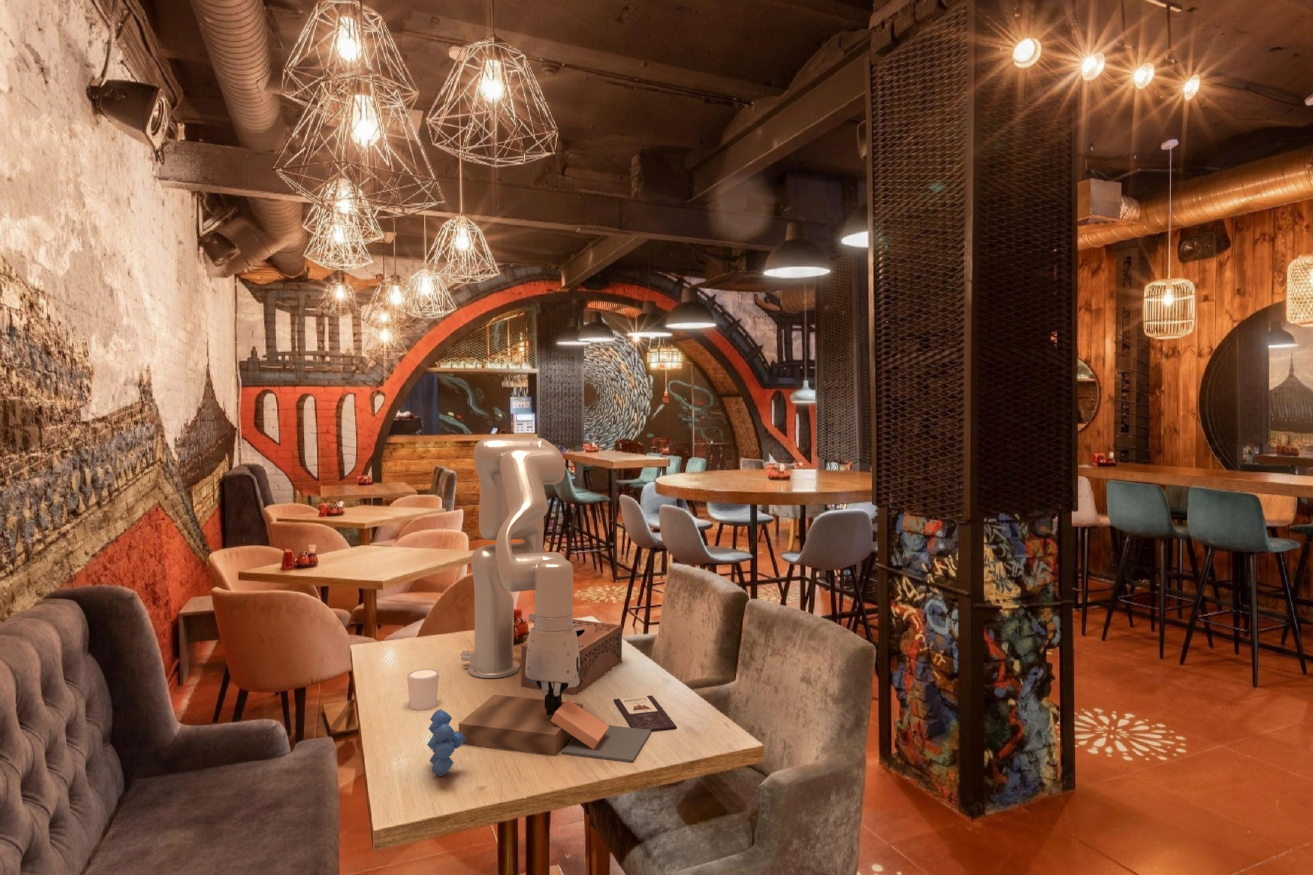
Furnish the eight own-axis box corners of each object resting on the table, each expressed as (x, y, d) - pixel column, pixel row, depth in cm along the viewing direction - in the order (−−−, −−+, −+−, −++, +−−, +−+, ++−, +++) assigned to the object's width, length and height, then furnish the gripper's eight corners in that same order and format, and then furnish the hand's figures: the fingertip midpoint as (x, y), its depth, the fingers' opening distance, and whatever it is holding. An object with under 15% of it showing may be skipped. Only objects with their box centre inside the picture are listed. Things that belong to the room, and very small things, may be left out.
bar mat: (561, 753, 147) (561, 751, 147) (585, 725, 160) (585, 722, 160) (632, 762, 143) (632, 759, 143) (651, 732, 157) (651, 729, 157)
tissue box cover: (572, 656, 206) (572, 619, 206) (621, 663, 201) (622, 625, 200) (520, 687, 182) (521, 645, 182) (575, 696, 177) (575, 653, 177)
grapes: (471, 785, 134) (472, 717, 134) (431, 792, 131) (431, 723, 131) (460, 757, 145) (460, 694, 144) (422, 763, 142) (422, 699, 142)
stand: (458, 743, 151) (458, 723, 150) (494, 712, 166) (494, 694, 166) (555, 755, 146) (555, 734, 146) (582, 722, 161) (582, 703, 161)
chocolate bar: (634, 731, 156) (613, 699, 174) (634, 736, 156) (613, 703, 174) (676, 726, 159) (652, 695, 176) (676, 731, 159) (651, 699, 176)
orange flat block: (550, 720, 150) (555, 712, 149) (563, 707, 156) (567, 699, 156) (593, 749, 147) (598, 741, 147) (604, 735, 154) (609, 726, 154)
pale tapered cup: (445, 701, 172) (445, 670, 172) (427, 712, 166) (427, 680, 166) (419, 697, 174) (419, 667, 174) (400, 708, 168) (400, 676, 168)
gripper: (511, 624, 152) (510, 716, 152) (583, 630, 148) (582, 724, 149) (526, 614, 159) (525, 702, 160) (595, 620, 156) (594, 709, 156)
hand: (553, 712), depth 154 cm, fingers closed
